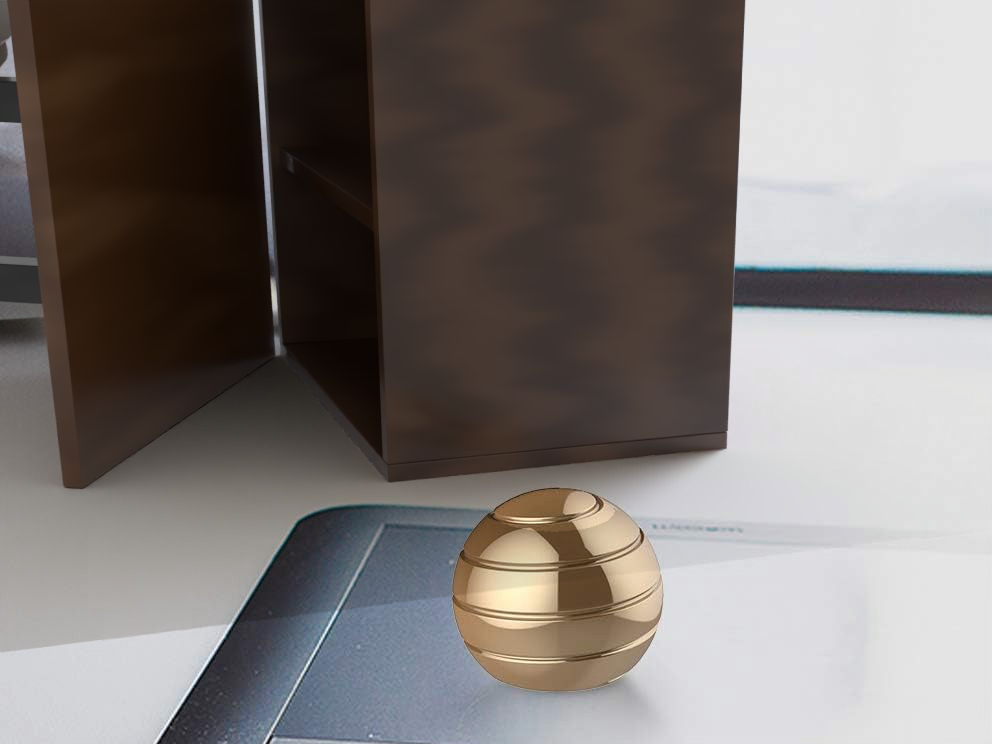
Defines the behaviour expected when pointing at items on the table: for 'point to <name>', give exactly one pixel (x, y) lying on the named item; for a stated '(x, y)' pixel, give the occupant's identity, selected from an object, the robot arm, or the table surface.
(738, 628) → the table surface
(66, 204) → the cupboard door
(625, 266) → the cupboard
